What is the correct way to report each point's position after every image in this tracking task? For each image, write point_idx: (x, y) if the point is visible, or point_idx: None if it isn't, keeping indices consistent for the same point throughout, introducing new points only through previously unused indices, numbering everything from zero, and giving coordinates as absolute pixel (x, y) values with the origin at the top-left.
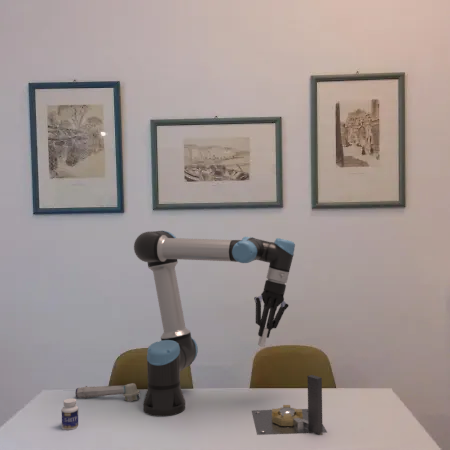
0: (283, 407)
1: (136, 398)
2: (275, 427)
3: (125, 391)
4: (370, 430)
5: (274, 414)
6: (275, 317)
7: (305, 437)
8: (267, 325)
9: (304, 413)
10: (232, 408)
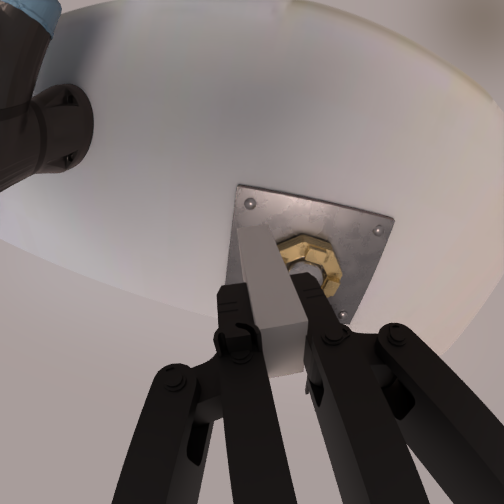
0: (305, 258)
1: None
2: None
3: None
4: (419, 317)
5: None
6: (438, 428)
7: None
8: (317, 363)
9: (359, 241)
10: (195, 140)
